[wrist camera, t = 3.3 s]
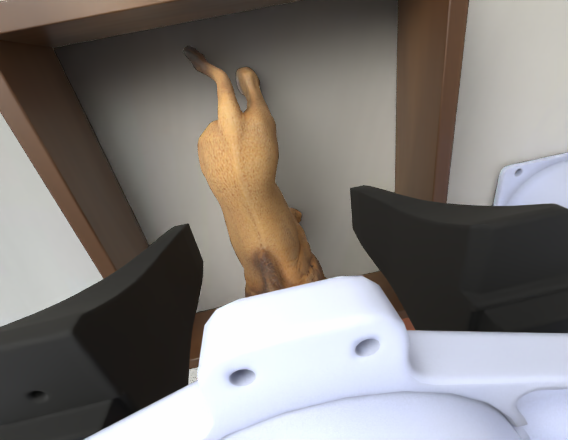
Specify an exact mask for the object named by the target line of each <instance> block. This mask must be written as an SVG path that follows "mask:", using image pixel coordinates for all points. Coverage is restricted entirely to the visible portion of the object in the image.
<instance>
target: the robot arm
mask: <svg viewBox="0 0 568 440" xmlns="http://www.w3.org/2000/svg"><path fill="white" fill-rule="evenodd" d="M515 172H516V173H515ZM350 194H351V209H352V224H353V230H354V232H355V234H356V236H357V238H358V239H359V241H360V243H361V245H362V246H363V248H364V249H365V251H366V252H367V253H368V255H369V256H370V257H371V259H372V260H373V261H374V263H375V264H376V266H377V267H378V268H379V270H380V271H381V272H382V274H383V275H384V276H385V278H386V279H387V281H388V282H389V284H390V285H391V287H392V288H393V290H394V292H395V294H396V295H397V297H398V299H399V301H400V302H401V304H402V306H403V308H404V310H405V311H406V313H407V315H408V317H409V319H410V321H411V323H412V325H413V326H414V328H415V330H406V327H405V324H404V322H403V321H402V319H401V318H400V316H399V315H398V313H397V312H396V310H395V309H394V307H393V306H392V304H391V303H390V301H389V299H388V298H387V296H386V295H385V293H384V292H383V290H382V289H381V287H380V286H379V285H378V284H376V283H375V282H373V281H371V280H369V279H367V278H365V277H364V276H338V277H334V278H329V279H325V280H320V281H316V282H312V283H307V284H303V285H299V286H294V287H290V288H286V289H281V290H277V291H273V292H268V293H264V294H259V295H255V296H251V297H246V298H242V299H238V300H236V301H233V302H231V303H229V304H227V305H225V306H223V307H220V308H218V309H216V310H215V312H214V313H213V314H212V316H211V317H210V319H209V320H208V321H207V323H206V324H205V325H204V332H203V339H202V346H201V352H200V359H199V366H198V380H197V381H195V382H193V383H191V384H189V385H188V378H189V362H190V349H191V338H192V330H193V323H194V319H195V314H196V309H197V304H198V300H199V295H200V290H201V285H202V278H203V260H202V257H201V254H200V252H199V249H198V247H197V244H196V242H195V239H194V236H193V234H192V231H191V229H190V226H189V224H184V225H180V226H175V227H173V228H171V229H170V230H168V231H167V232H166V233H165V234H163V235H162V236H161V237H160V238H159V239H157V240H156V241H155V242H154V243H152V244H151V245H150V246H149V247H148V248H146V249H145V250H144V251H143V252H141V253H140V254H139V255H138V256H136V257H135V258H134V259H132V260H131V261H130V262H128V263H127V264H126V265H124V266H123V267H121V268H120V269H119V270H117V271H116V272H114V273H112V274H111V275H109V276H108V277H106V278H105V279H103V280H101V281H100V282H98V283H96V284H94V285H92V286H90V287H89V288H87V289H85V290H83V291H81V292H80V293H78V294H76V295H74V296H72V297H70V298H68V299H66V300H64V301H62V302H60V303H57V304H55V305H53V306H51V307H49V308H46V309H44V310H42V311H40V312H37V313H35V314H32V315H30V316H27V317H25V318H22V319H20V320H17V321H15V322H12V323H10V324H7V325H4V326H2V327H0V440H568V152H567V153H562V154H558V155H553V156H549V157H544V158H539V159H535V160H530V161H526V162H521V163H516V164H512V165H508V166H505V167H504V168H503V169H502V170H501V171H500V174H499V179H498V184H497V189H496V194H495V199H494V204H493V206H473V205H458V204H447V203H440V202H433V201H427V200H422V199H417V198H412V197H408V196H404V195H400V194H396V193H393V192H389V191H386V190H382V189H379V188H375V187H371V186H364V185H363V186H359V187H354V188H350Z"/></svg>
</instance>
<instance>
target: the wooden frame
mask: <svg viewBox="0 0 568 440" xmlns="http://www.w3.org/2000/svg"><path fill="white" fill-rule="evenodd" d="M296 1H301V0H5V1H0V112H1V114H2V116H3V117H4V119H5V120H6V122H7V124H8V125H9V127H10V128H11V130H12V132H13V133H14V135H15V136H16V138H17V140H18V141H19V143H20V145H21V146H22V148H23V149H24V151H25V153H26V154H27V156H28V157H29V159H30V161H31V162H32V164H33V166H34V167H35V169H36V170H37V172H38V174H39V175H40V177H41V178H42V180H43V182H44V183H45V185H46V187H47V188H48V190H49V191H50V193H51V195H52V196H53V198H54V199H55V201H56V203H57V204H58V206H59V208H60V209H61V211H62V212H63V214H64V216H65V217H66V219H67V220H68V222H69V224H70V225H71V227H72V229H73V230H74V232H75V233H76V235H77V237H78V238H79V240H80V241H81V243H82V245H83V246H84V248H85V249H86V251H87V253H88V254H89V256H90V258H91V259H92V261H93V262H94V264H95V266H96V267H97V269H98V270H99V272H100V274H101V275H102V277H103V279H105V278H106V277H108V276H109V275H111V274H112V273H114V272H116V271H117V270H119V269H120V268H121V267H123V266H124V265H126V264H127V263H128V262H130V261H131V260H132V259H134V258H135V257H136V256H138V255H139V254H140V253H141V252H143V251H144V250H145V249H146V248H148V247H149V245H148V243H147V241H146V239H145V237H144V235H143V233H142V231H141V229H140V227H139V225H138V222H137V220H136V218H135V216H134V214H133V212H132V210H131V208H130V206H129V204H128V202H127V200H126V198H125V196H124V194H123V192H122V190H121V187H120V185H119V183H118V181H117V179H116V177H115V175H114V173H113V171H112V169H111V167H110V165H109V163H108V161H107V159H106V157H105V155H104V152H103V150H102V148H101V146H100V144H99V142H98V140H97V138H96V136H95V134H94V132H93V130H92V128H91V126H90V124H89V122H88V120H87V117H86V115H85V113H84V111H83V109H82V107H81V105H80V103H79V101H78V99H77V97H76V95H75V93H74V91H73V89H72V87H71V84H70V82H69V80H68V78H67V76H66V74H65V72H64V70H63V68H62V66H61V64H60V62H59V60H58V58H57V56H56V54H55V52H54V49H53V48H55V47H60V46H66V45H71V44H76V43H81V42H86V41H92V40H97V39H102V38H107V37H113V36H118V35H123V34H128V33H134V32H139V31H144V30H149V29H154V28H160V27H165V26H170V25H175V24H181V23H186V22H191V21H196V20H202V19H207V18H212V17H217V16H223V15H228V14H233V13H238V12H243V11H249V10H254V9H259V8H264V7H270V6H275V5H280V4H285V3H291V2H296ZM468 5H469V0H398V33H397V97H396V161H395V193H396V194H400V195H404V196H408V197H412V198H417V199H422V200H427V201H433V202H440V203H446V201H447V192H448V184H449V175H450V166H451V157H452V148H453V139H454V130H455V121H456V112H457V103H458V94H459V86H460V77H461V68H462V59H463V50H464V41H465V32H466V23H467V14H468ZM360 276H364V277H365V278H367V279H369V280H371V281H373V282H375V283H376V284H378V285H379V286H380V287H381V289H382V290H383V292H384V293H385V295H386V296H387V298H388V299H389V301H390V303H391V304H392V306H393V307H394V309H395V310H396V312H397V313H398V315H399V316H400V318H401V319H405V318H409V317H408V315H407V313H406V311H405V310H404V308H403V306H402V304H401V302H400V301H399V299H398V297H397V295H396V294H395V292H394V290H393V288H392V287H391V285H390V284H389V282H388V281H387V279H386V278H385V276H384V275H383V274H382V272H381V271H378V272H373V273H369V274H365V275H360ZM216 309H218V308H215V309H211V310H207V311H202V312H198V313H196V314H195V319H194V323H193V330H192V338H191V349H190V362H189V369H192V368H197V367H198V366H199V359H200V352H201V346H202V339H203V332H204V325H205V324H206V323H207V321H208V320H209V319H210V317H211V316H212V314H213V313H214V312H215V310H216Z"/></svg>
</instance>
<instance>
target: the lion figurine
mask: <svg viewBox="0 0 568 440" xmlns="http://www.w3.org/2000/svg"><path fill="white" fill-rule="evenodd" d="M183 52H184V54H185V55H186V57H187V58H188V59H189V60H190V61H191V63H192V65H193V66H194V68H195V69H196V70H197V71H199V72H201V73H203V74H205V75H207V76H209V77H210V78H212V79H213V80H214V81H215V82H216V84H217V95H218V120H216V121H213V122H211V123H210V124H209V125H208V127H207V128H206V129H205V131H204V132H203V133H202V135H201V136H200V138H199V141H198V156H199V161H200V166H201V170H202V172H203V174H204V176H205V177H206V180H207V182H208V184H209V186H210V188H211V190H212V192H213V194H214V196H215V197H216V198H217V200H218V202H219V204H220V206H221V208H222V211H223V214H224V218H225V222H226V226H227V229H228V233H229V237H230V241H231V244H232V246H233V248H234V251H235V253H236V255H237V257H238V259H239V261H240V262H241V264H242V266H243V267H244V275H245V280H246V287H245V298H246V297H251V296H255V295H259V294H264V293H268V292H273V291H277V290H281V289H286V288H290V287H294V286H299V285H303V284H307V283H312V282H316V281H320V280H325V279H328V278H326V277H325V276H324V274H323V271H322V267H321V265H320V263H319V261H318V260H317V258H316V257H315V256H314V255H313V254H312V252H311V250H310V246H309V243H308V242H307V238H306V235H305V232H304V230H303V228H302V227H301V226H300V225H299V224H298V223H300V221H301V216H302V214H301V212H299V211H298V210H296V209H293V208H289V207H288V205H287V203H286V201H285V199H284V197H283V195H282V192H281V191H280V189H279V187H278V186H277V184H276V183H275V177H276V170H277V164H278V159H279V152H278V142H277V137H276V124H275V121H274V119H273V117H272V116H271V113H270V111H269V109H268V107H267V105H266V103H265V101H264V98H263V96H262V94H261V91H260V88H259V85H260V81H259V79H258V77H257V75H256V74H255V72H254V71H253V70H252V69H251V68H249V67H242V68H239V69H238V70H237V71H236V82H237V87H238V89H239V91H240V93H241V94H242V95H244V96H245V97H246V99H247V109H246V110H245V111H244V113H243V112H242V111H241V110H240V107H239V104H238V102H237V99H236V97H235V93H234V89H233V86H232V84H231V81H230V79H229V77H228V76H227V74H226V73H225V72H224V71H223V70H221V69H219V68H217V67H216V66H214V65H212V64H210V63H208V62H207V61H206V59H205V56H204V55H203V54H201V53H199V52H198V51H197V50H196V49H195V48H193V47H192V46H187V47H185V48H184V50H183Z"/></svg>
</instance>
